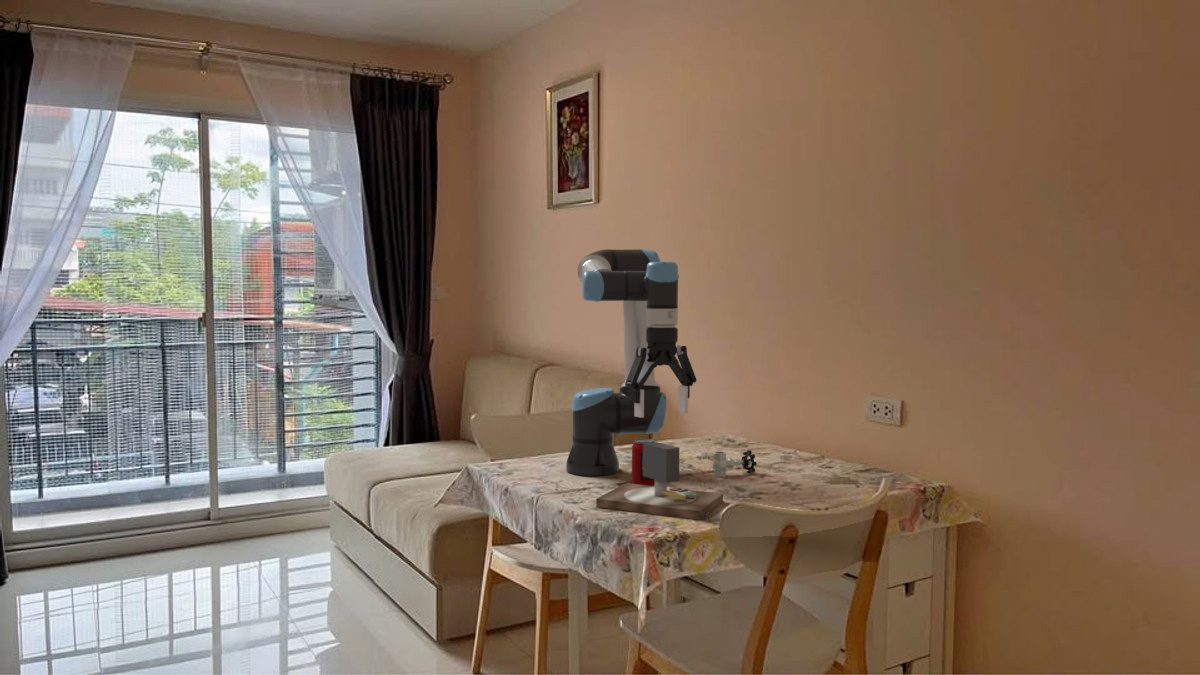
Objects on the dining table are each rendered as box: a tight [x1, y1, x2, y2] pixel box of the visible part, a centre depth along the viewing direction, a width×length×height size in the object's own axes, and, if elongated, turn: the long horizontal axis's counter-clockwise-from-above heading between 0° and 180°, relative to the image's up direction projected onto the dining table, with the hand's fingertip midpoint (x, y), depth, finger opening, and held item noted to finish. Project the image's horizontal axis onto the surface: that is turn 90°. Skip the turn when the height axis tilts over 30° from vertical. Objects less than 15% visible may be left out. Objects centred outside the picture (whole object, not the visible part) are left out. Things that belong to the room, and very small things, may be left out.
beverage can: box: [631, 438, 656, 486], centre depth 227 cm, size 7×7×12 cm
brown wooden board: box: [595, 482, 724, 521], centre depth 207 cm, size 26×18×2 cm
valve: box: [712, 449, 758, 478], centre depth 240 cm, size 7×7×12 cm
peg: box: [643, 441, 685, 500], centre depth 205 cm, size 13×4×12 cm, turn 35°
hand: (661, 414), depth 206 cm, fingers open, 13 cm apart
